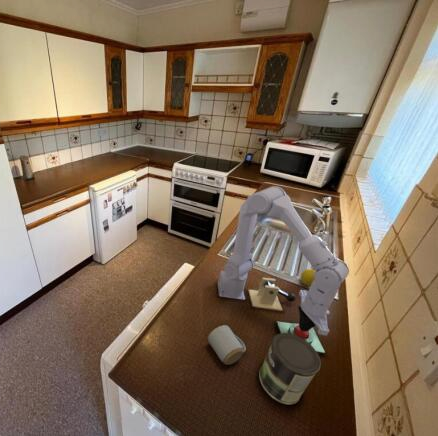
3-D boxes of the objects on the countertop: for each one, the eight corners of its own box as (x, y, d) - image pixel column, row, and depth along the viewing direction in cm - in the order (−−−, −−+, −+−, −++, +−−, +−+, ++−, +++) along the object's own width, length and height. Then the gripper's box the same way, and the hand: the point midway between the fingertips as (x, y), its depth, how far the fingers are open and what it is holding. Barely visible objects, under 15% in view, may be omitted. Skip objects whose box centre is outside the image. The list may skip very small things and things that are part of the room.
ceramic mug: (222, 370, 67) (227, 354, 63) (205, 345, 73) (209, 328, 70) (251, 356, 71) (257, 340, 67) (232, 333, 77) (237, 317, 73)
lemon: (316, 291, 94) (323, 275, 90) (300, 288, 95) (307, 273, 91) (310, 281, 98) (317, 266, 95) (296, 279, 99) (302, 264, 95)
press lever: (289, 298, 88) (295, 293, 87) (292, 304, 85) (298, 299, 84) (262, 284, 87) (267, 279, 86) (264, 290, 85) (270, 285, 83)
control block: (284, 349, 73) (287, 342, 71) (275, 323, 80) (278, 317, 79) (323, 355, 71) (327, 349, 70) (311, 328, 79) (314, 323, 77)
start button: (296, 337, 73) (298, 334, 72) (292, 327, 76) (294, 323, 75) (309, 339, 73) (311, 336, 72) (304, 329, 76) (306, 325, 75)
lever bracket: (275, 295, 92) (282, 276, 87) (281, 312, 85) (289, 293, 80) (248, 291, 93) (253, 273, 89) (252, 307, 86) (258, 289, 82)
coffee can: (257, 392, 62) (271, 361, 55) (260, 357, 70) (273, 326, 63) (302, 413, 58) (324, 382, 51) (299, 374, 66) (318, 342, 60)
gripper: (349, 321, 60) (328, 354, 67) (322, 281, 73) (307, 311, 79) (319, 317, 61) (301, 349, 68) (297, 278, 74) (285, 308, 80)
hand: (303, 329), depth 73 cm, fingers closed
